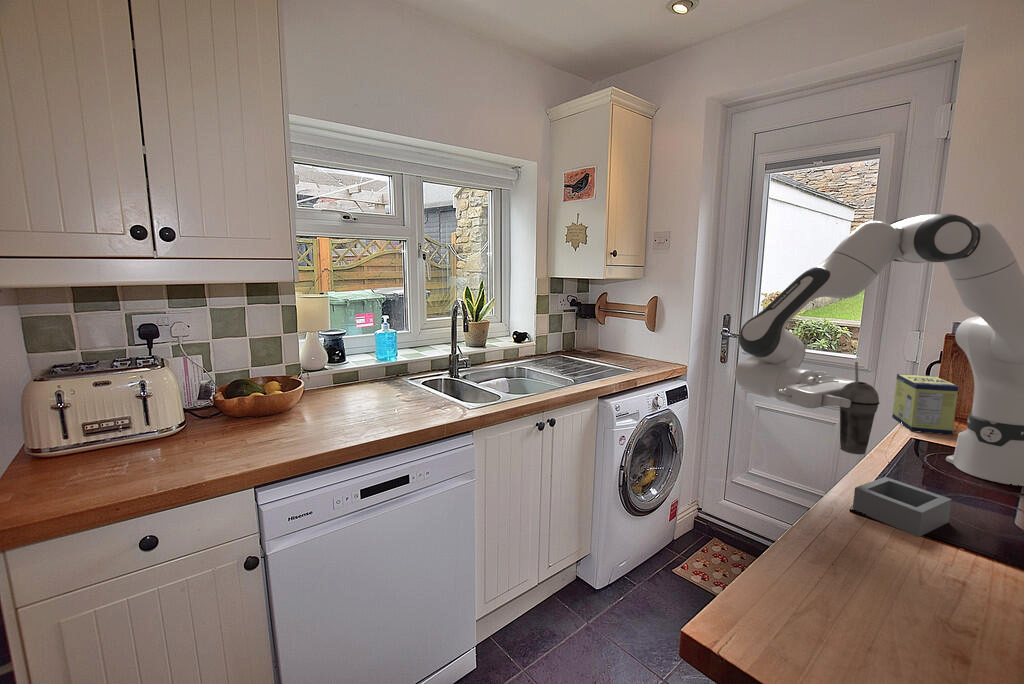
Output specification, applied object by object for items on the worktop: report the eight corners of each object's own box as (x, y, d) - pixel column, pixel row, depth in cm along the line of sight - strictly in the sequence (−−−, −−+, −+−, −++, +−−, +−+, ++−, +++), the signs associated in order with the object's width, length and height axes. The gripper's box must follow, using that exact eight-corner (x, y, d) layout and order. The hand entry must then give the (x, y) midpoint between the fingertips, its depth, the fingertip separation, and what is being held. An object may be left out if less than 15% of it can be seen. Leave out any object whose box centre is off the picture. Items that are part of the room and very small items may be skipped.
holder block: (882, 497, 102) (884, 476, 102) (948, 522, 92) (951, 499, 91) (852, 509, 98) (854, 487, 97) (918, 537, 87) (921, 512, 87)
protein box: (929, 420, 154) (934, 375, 152) (953, 435, 140) (960, 386, 138) (890, 417, 158) (896, 373, 156) (910, 431, 144) (916, 383, 141)
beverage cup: (881, 458, 97) (892, 366, 94) (842, 455, 99) (852, 364, 96) (862, 445, 104) (872, 359, 102) (826, 443, 106) (835, 358, 103)
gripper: (772, 378, 106) (835, 392, 94) (825, 370, 115) (889, 382, 103) (770, 405, 107) (832, 422, 95) (822, 394, 116) (885, 409, 104)
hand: (862, 401), depth 99 cm, fingers closed on beverage cup, 7 cm apart
